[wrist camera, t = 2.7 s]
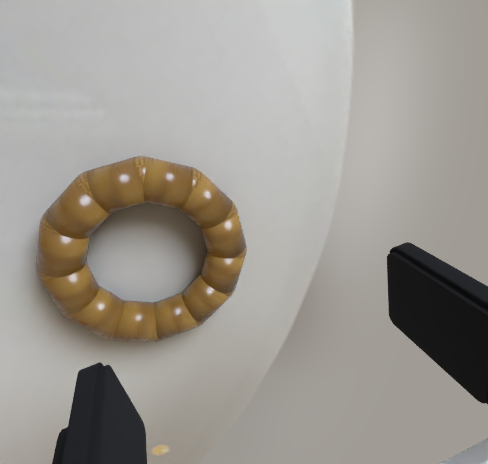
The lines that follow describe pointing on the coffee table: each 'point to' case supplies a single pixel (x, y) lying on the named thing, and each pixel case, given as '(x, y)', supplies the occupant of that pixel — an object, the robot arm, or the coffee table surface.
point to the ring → (121, 197)
